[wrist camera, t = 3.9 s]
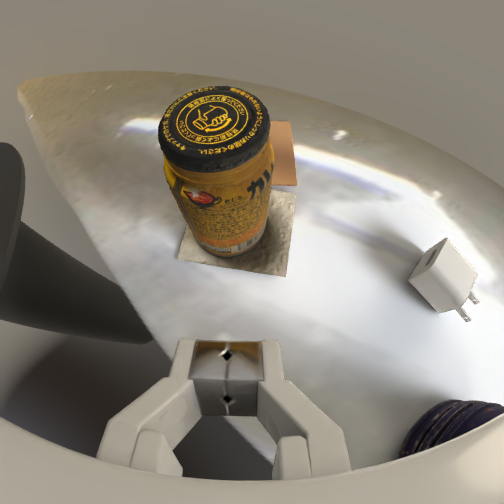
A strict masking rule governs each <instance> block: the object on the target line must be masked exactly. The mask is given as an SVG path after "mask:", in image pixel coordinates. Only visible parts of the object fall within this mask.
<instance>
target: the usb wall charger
mask: <svg viewBox="0 0 504 504" xmlns="http://www.w3.org/2000/svg"><path fill="white" fill-rule="evenodd" d="M476 277H477V272H476V271H475V270H474V269H473V267H472V266H471V265H470V264H469V262H468V261H467V260H466V259H465V258H464V257H463V255H462V254H461V253H460V252H459V251H458V250H457V248H456V247H455V246H454V245H453V244H452V243H451V242H450V241H449V239H448V238H445V239H443V240H442V241H440V242H439V243H437V244H436V245H434V246H433V247H432V248H430V249H429V250H427V251H426V253H425V254H424V255H423V256H422V258H421V259H420V261H419V263H418V264H417V266H416V267H415V269H414V271H413V272H412V274H411V275H410V277H409V278H408V281H409V282H410V283H411V284H412V285H413V286H414V287H415V288H416V289H417V290H418V291H419V293H420V294H421V295H422V296H423V297H424V298H425V299H426V300H427V301H428V302H429V303H430V304H431V306H432V307H433V308H434V309H435V310H436V311H437V312H438V313H439V314H440V313H444V312H447V311H450V310H454V309H455V310H456V311H457V312H458V313H459V314H460V316H461V317H462V318H463V319H464V320H465V321H466V322H468V321H471V319H470V317H469V316H468V314H467V313H466V312H465V311H464V309H463V308H462V307H461V306H462V305H463V304H464V303H465V302H466V300H467V298H469V299H470V300H471V301H472V302H473V303H474V304H477V303H479V301H478V299H477V298H476V297H475V295H474V294H473V293H472V291H471V289H472V287H473V284H474V282H475V280H476ZM473 299H475V300H476V301H477V302H475V301H473ZM465 317H467V318H468V319H466V318H465Z"/></svg>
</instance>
